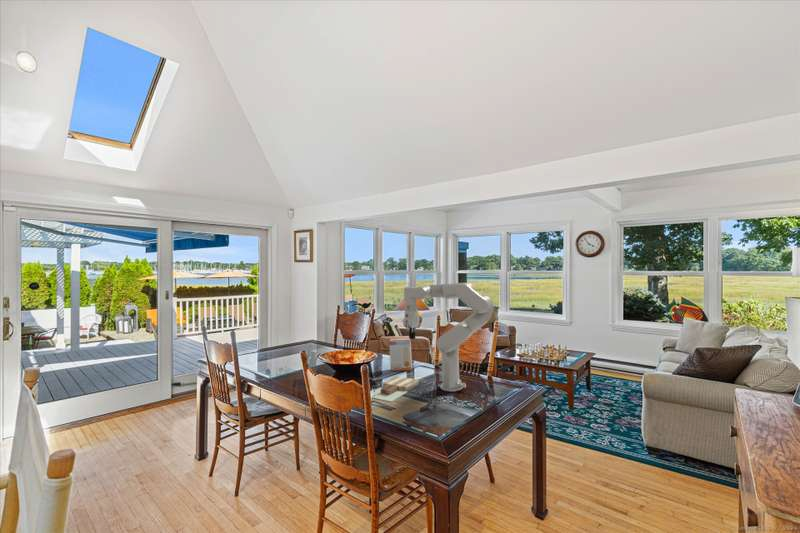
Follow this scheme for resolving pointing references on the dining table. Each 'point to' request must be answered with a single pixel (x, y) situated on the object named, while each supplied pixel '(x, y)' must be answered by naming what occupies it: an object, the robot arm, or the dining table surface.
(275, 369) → the dining table surface
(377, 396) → the mat
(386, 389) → the tile
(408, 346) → the cracker box
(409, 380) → the deck
